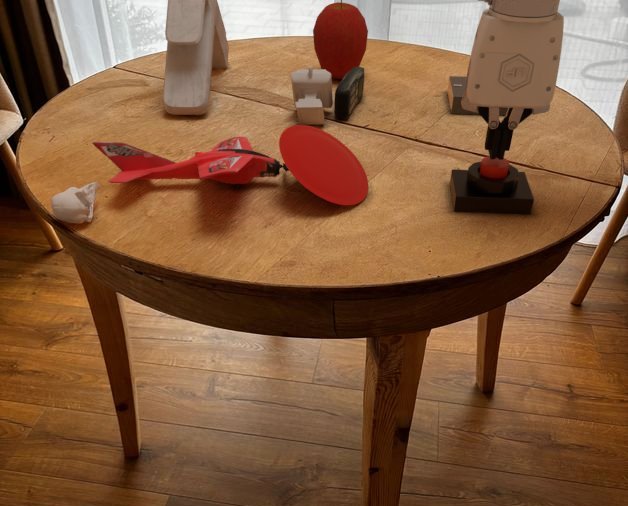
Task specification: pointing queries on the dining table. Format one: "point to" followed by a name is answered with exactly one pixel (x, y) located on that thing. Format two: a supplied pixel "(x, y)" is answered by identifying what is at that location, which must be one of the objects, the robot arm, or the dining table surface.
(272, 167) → the toy airplane
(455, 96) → the base
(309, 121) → the white blocky device
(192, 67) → the leaning slabs
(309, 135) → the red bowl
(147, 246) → the dining table surface
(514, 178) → the button block
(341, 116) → the mobile phone
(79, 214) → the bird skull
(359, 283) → the dining table surface
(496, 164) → the button
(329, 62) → the apple
